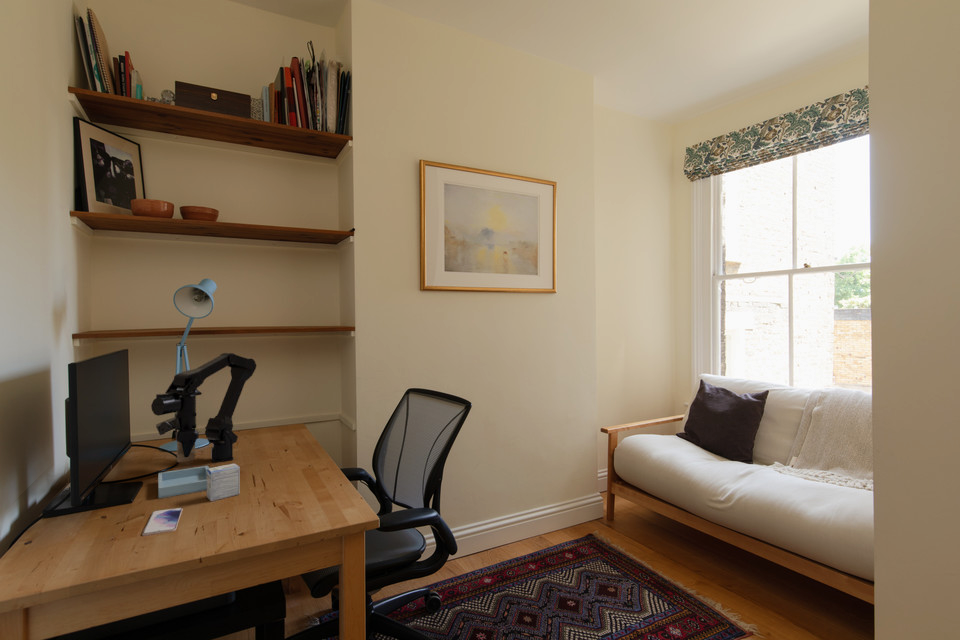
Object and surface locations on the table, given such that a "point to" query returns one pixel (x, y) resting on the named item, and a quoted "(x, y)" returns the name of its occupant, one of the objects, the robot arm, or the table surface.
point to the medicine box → (223, 481)
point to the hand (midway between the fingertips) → (186, 455)
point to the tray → (182, 481)
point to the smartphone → (163, 521)
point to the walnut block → (181, 454)
